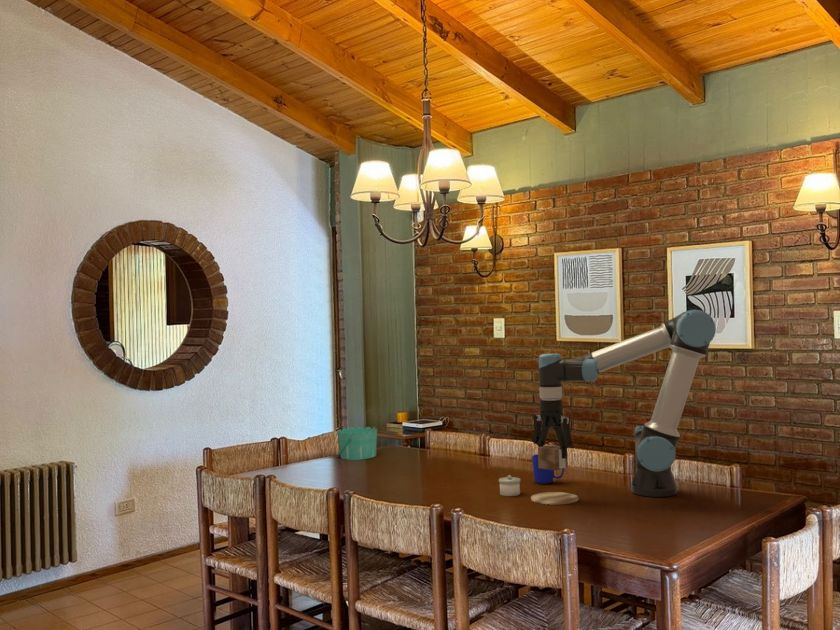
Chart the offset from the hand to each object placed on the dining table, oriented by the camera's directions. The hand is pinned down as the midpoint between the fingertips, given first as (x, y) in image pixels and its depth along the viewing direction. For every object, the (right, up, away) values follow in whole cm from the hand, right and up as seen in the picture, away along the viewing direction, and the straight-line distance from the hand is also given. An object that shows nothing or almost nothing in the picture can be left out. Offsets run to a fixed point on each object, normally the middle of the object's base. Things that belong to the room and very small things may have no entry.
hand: (553, 466), depth 253 cm
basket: (-74, -15, +97) cm, 123 cm away
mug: (+3, -12, +26) cm, 29 cm away
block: (0, 0, 0) cm, 0 cm away
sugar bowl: (-13, -12, +10) cm, 20 cm away
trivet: (+1, -11, 0) cm, 11 cm away
